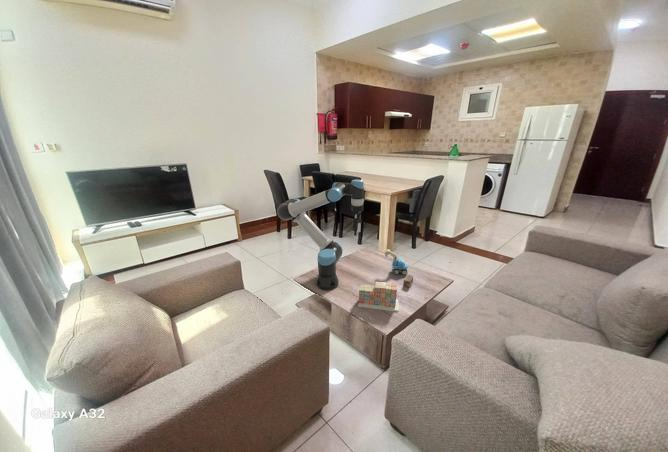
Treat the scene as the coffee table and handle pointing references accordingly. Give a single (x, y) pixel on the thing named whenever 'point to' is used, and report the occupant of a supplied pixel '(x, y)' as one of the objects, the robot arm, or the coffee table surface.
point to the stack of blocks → (378, 294)
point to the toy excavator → (397, 263)
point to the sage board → (380, 306)
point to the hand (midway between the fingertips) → (356, 235)
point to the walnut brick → (408, 281)
